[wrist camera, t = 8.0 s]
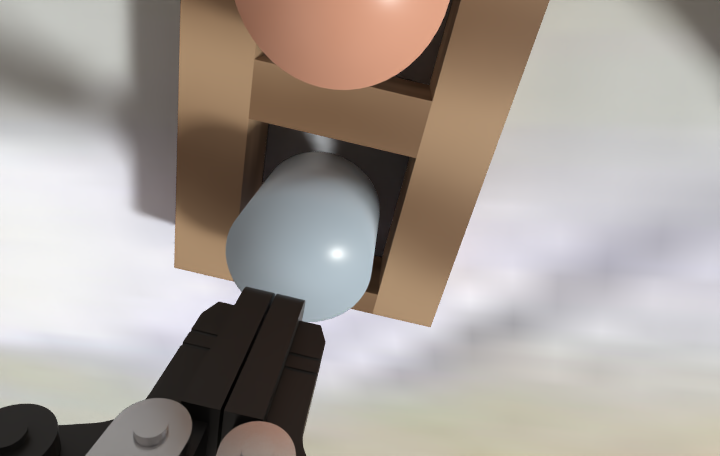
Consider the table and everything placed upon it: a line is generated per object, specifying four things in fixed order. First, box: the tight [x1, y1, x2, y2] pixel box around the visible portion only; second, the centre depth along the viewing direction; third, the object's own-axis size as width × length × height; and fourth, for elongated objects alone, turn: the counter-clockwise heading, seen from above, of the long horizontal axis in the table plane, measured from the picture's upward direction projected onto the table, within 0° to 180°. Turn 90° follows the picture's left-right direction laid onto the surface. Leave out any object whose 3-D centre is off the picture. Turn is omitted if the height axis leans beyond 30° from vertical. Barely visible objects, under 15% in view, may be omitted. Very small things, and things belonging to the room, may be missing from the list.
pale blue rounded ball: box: [226, 152, 380, 322], centre depth 17 cm, size 5×5×5 cm
